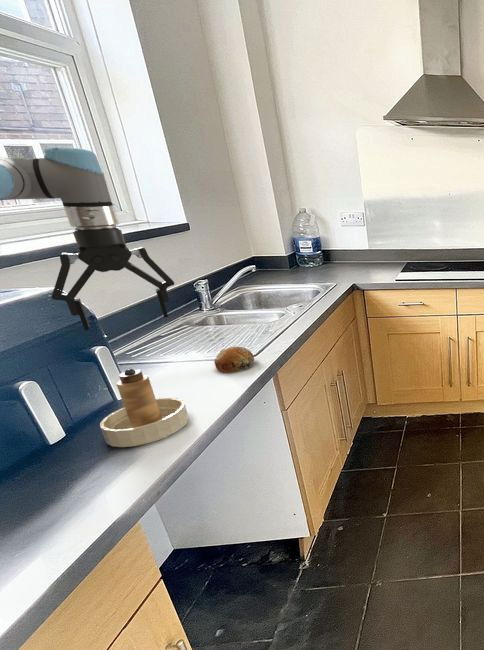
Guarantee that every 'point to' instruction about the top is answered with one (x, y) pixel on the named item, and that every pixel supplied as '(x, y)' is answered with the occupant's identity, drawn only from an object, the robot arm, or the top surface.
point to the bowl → (124, 435)
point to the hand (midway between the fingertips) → (128, 322)
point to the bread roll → (234, 359)
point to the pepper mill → (138, 398)
